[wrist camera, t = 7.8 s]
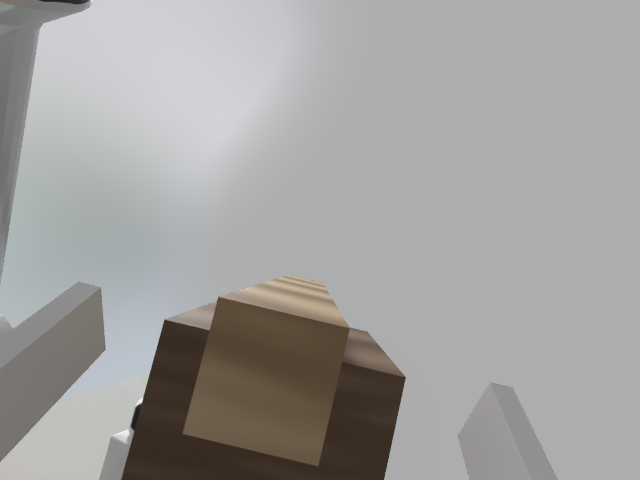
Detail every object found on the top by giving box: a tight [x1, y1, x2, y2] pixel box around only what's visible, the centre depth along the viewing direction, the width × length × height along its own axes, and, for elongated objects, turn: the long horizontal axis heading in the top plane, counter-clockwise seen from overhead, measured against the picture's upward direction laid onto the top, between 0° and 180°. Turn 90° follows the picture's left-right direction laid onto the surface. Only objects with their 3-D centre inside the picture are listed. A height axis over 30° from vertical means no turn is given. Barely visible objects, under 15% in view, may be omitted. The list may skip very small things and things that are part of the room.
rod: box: [183, 275, 350, 466], centre depth 22 cm, size 26×4×4 cm, turn 1°
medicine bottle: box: [99, 398, 143, 480], centre depth 48 cm, size 7×7×12 cm
